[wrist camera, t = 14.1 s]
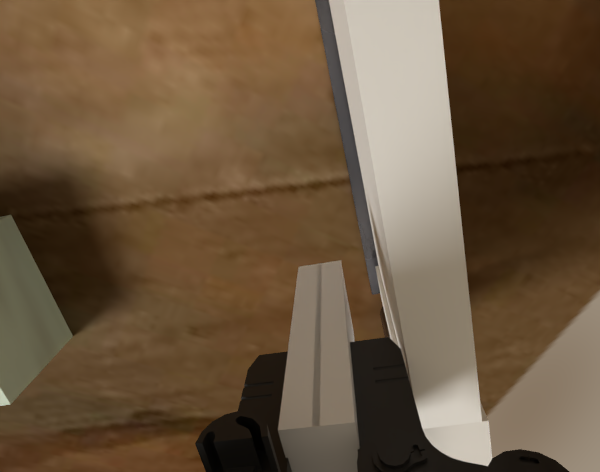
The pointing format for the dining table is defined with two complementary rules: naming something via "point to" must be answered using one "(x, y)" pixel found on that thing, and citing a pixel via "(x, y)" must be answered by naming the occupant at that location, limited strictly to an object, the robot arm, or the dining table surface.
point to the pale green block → (24, 316)
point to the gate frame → (349, 146)
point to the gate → (415, 208)
